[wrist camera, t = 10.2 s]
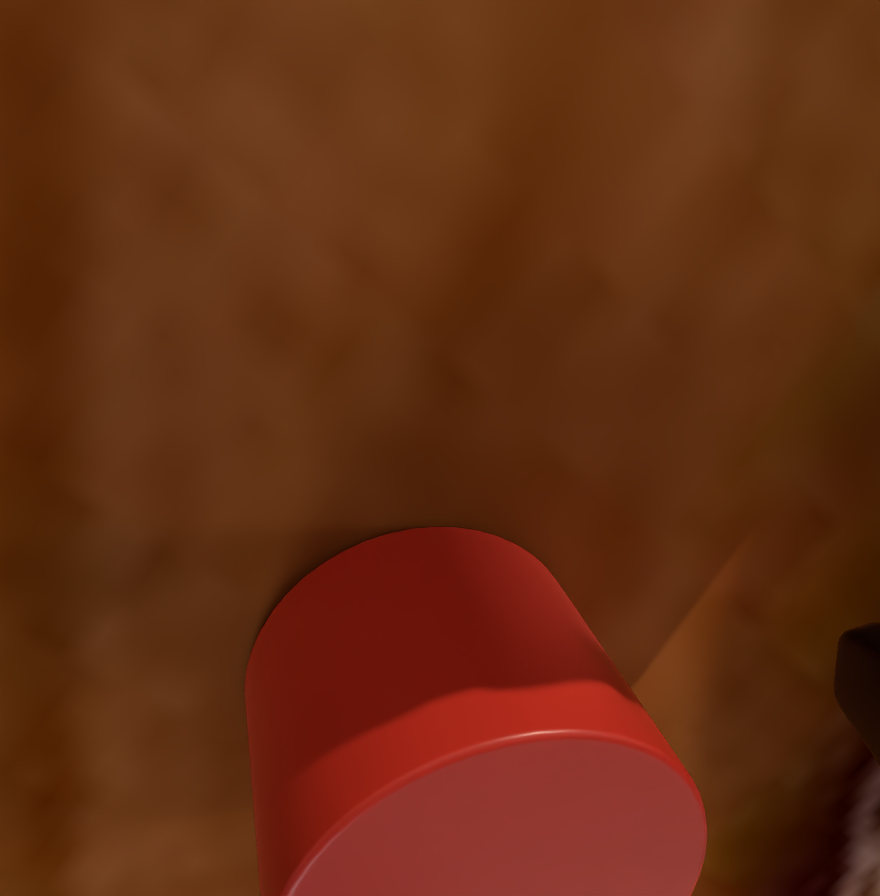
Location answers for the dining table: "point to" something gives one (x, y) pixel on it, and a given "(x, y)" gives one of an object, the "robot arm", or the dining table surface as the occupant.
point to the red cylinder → (455, 736)
